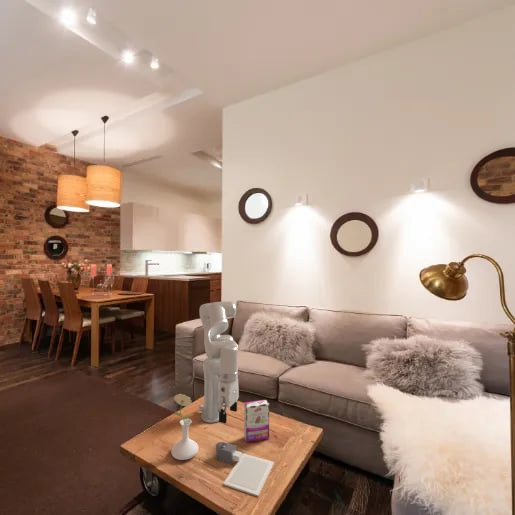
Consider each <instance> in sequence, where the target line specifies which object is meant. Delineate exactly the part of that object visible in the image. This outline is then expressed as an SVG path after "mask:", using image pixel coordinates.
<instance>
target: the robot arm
mask: <svg viewBox="0 0 515 515" xmlns="http://www.w3.org/2000/svg"><path fill="white" fill-rule="evenodd" d="M236 315H237V307H236V304H235V303H234V302H233V301H214V302H210V303H208V302H207V303H204V304H201V305H200V306H199V318H200V321H201V324H202V326H203V332H204V335H203V336H204V340H203V343H204V351H205V355H206V358H205V359H204V360H203V364H202V368H203V375H204V376H203V377H204V380H203V381H204V388H203V389H204V392H203V393H204V400H203V402H204V403H203V404H199V405H198V409H197V410H198V411H199V412H202V413H201V414H200V418H201V420H202V421H203V422H205V423H212V424H213V423H220V424H221V423H222V424H227V410H228V408H229V411H231V412H238V399H239V398H240V395H239V394H240V391H239V390H240V388H239V375H238V374H239V372H238V371H239V369H238V368H239V347H238V343H237V342H236V340H235V339H234V337H233V336H232V335H231V334H222V333H224V332H226V331H227V330H228V328H229V321H228V319H229V318H230V319H233V318H235V317H236ZM223 408H224V409H223Z"/></svg>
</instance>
